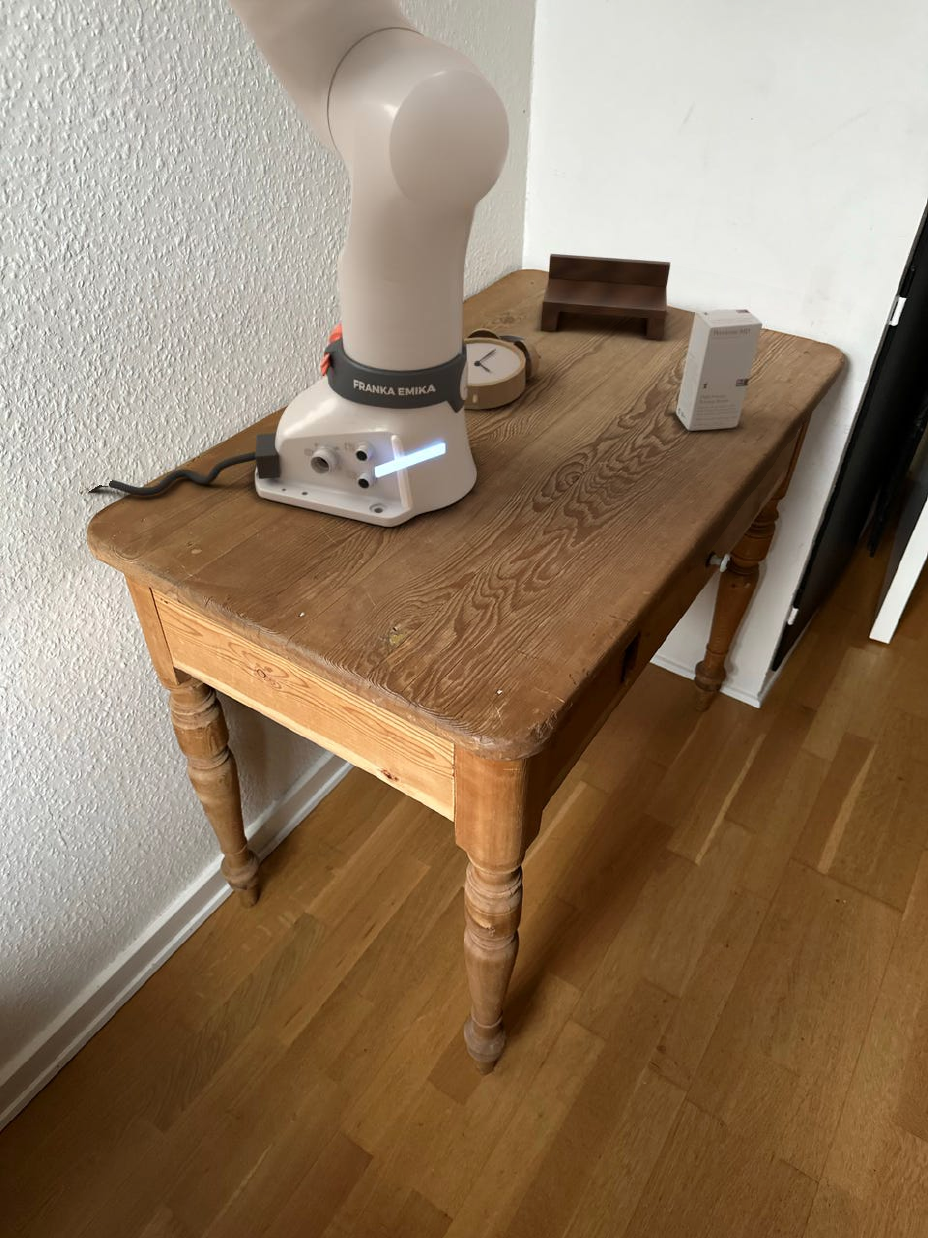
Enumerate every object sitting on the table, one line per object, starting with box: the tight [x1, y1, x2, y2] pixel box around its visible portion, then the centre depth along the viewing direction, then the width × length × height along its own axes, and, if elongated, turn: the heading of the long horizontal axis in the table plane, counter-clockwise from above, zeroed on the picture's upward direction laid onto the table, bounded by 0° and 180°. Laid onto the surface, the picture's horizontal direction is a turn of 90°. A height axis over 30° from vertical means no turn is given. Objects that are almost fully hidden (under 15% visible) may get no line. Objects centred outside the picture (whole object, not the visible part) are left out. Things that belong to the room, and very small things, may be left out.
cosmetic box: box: [675, 308, 763, 432], centre depth 98 cm, size 6×4×12 cm
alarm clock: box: [463, 327, 542, 411], centre depth 108 cm, size 11×5×15 cm
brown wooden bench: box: [540, 253, 671, 341], centre depth 120 cm, size 16×9×7 cm, turn 81°
